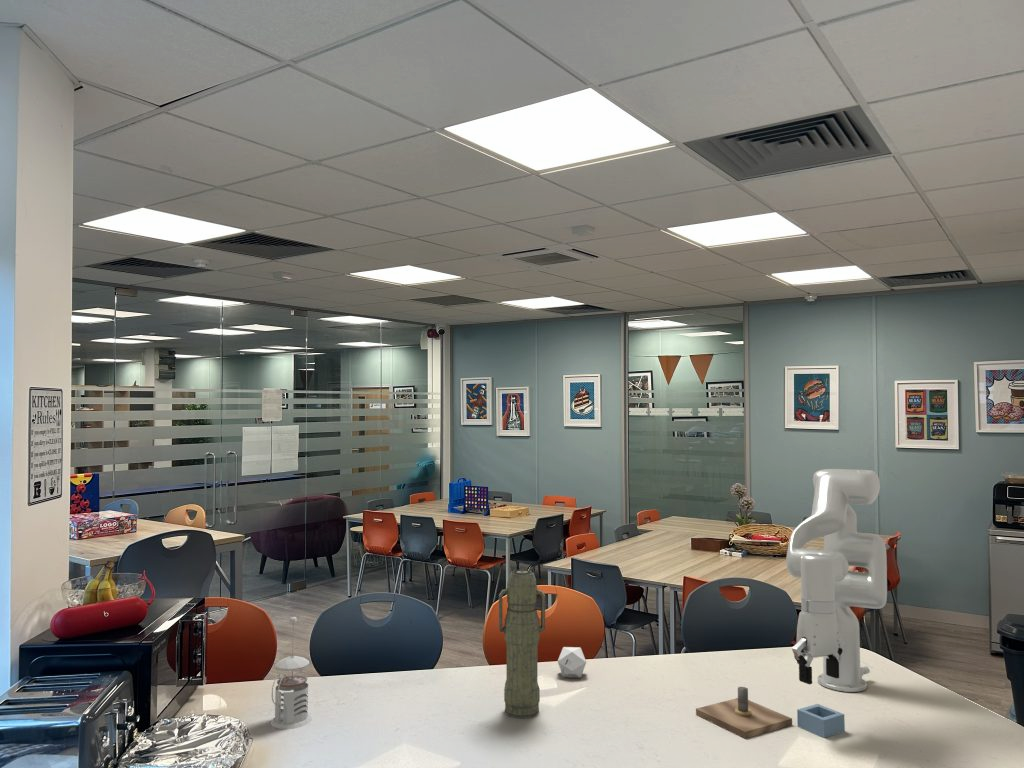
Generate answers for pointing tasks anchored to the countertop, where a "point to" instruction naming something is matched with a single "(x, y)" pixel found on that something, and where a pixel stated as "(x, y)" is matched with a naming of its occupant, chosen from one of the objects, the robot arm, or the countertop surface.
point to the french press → (291, 693)
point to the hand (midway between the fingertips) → (819, 679)
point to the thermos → (522, 643)
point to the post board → (743, 716)
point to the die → (572, 662)
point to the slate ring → (820, 720)
